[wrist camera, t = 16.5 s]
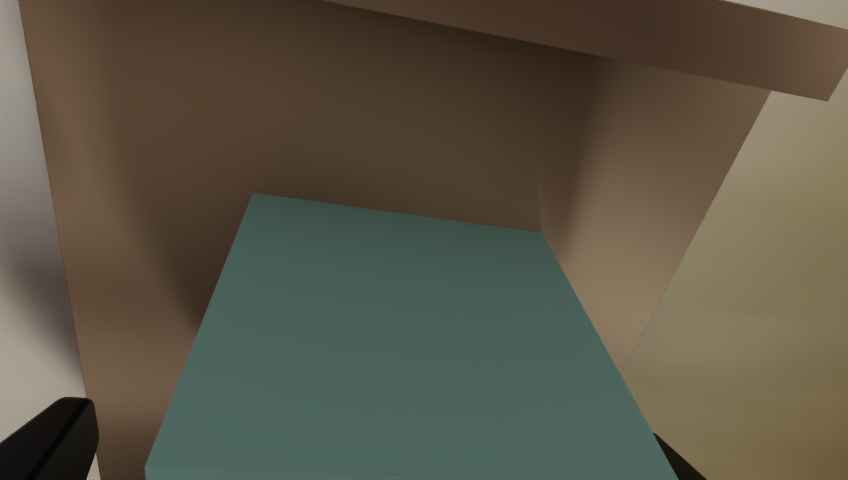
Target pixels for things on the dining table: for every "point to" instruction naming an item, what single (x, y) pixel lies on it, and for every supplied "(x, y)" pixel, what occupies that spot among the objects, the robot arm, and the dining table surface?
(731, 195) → the dining table surface
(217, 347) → the block
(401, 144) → the cart
